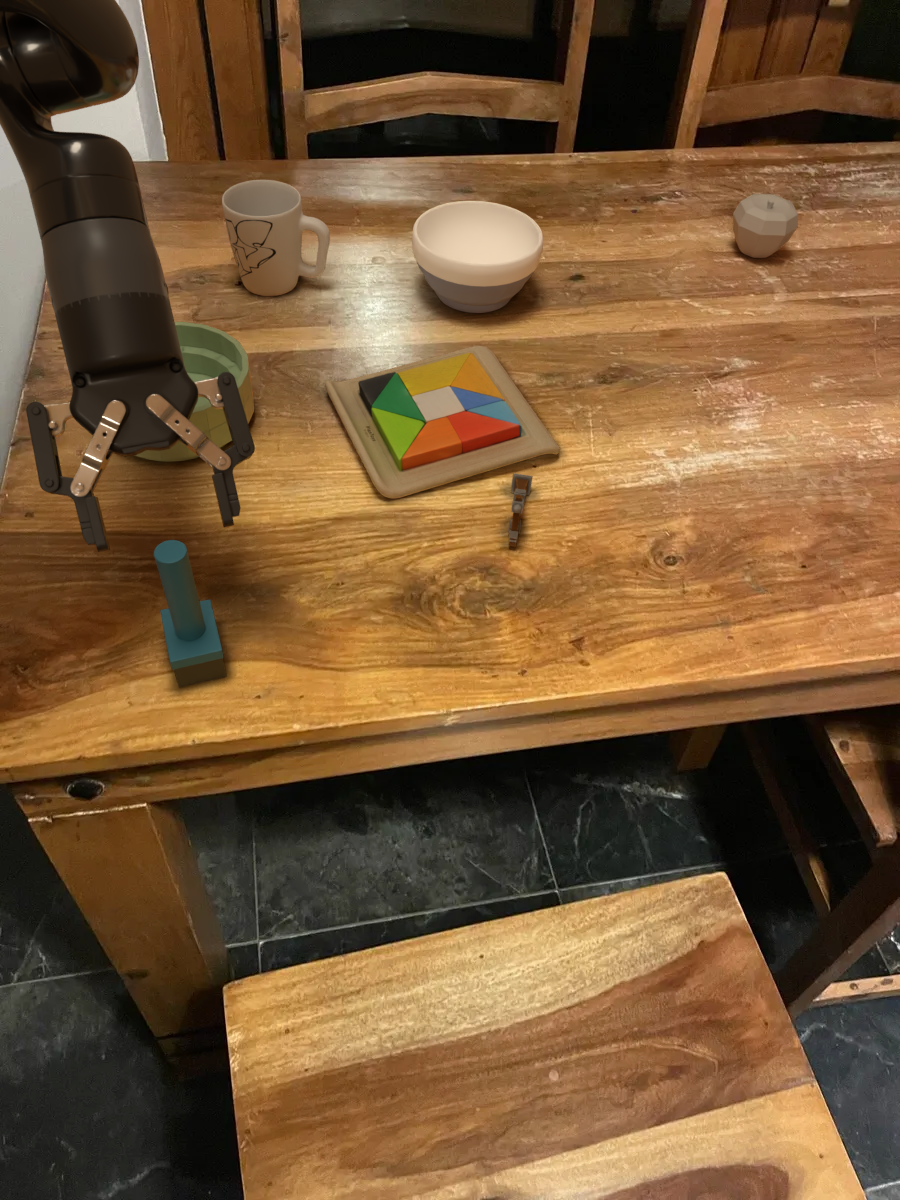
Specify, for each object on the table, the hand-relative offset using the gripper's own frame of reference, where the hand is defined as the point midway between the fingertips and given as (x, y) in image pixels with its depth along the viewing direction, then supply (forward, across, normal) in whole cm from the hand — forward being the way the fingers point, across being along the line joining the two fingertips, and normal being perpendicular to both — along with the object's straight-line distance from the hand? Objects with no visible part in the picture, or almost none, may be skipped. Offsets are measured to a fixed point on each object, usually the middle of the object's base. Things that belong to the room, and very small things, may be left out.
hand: (167, 538), depth 65 cm
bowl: (-21, +39, +37) cm, 58 cm away
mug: (-26, +18, +42) cm, 53 cm away
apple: (-21, +77, +37) cm, 88 cm away
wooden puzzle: (-6, +27, +22) cm, 35 cm away
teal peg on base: (+9, 0, +6) cm, 11 cm away
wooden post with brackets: (+4, +30, +12) cm, 32 cm away
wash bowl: (-12, +3, +27) cm, 30 cm away
